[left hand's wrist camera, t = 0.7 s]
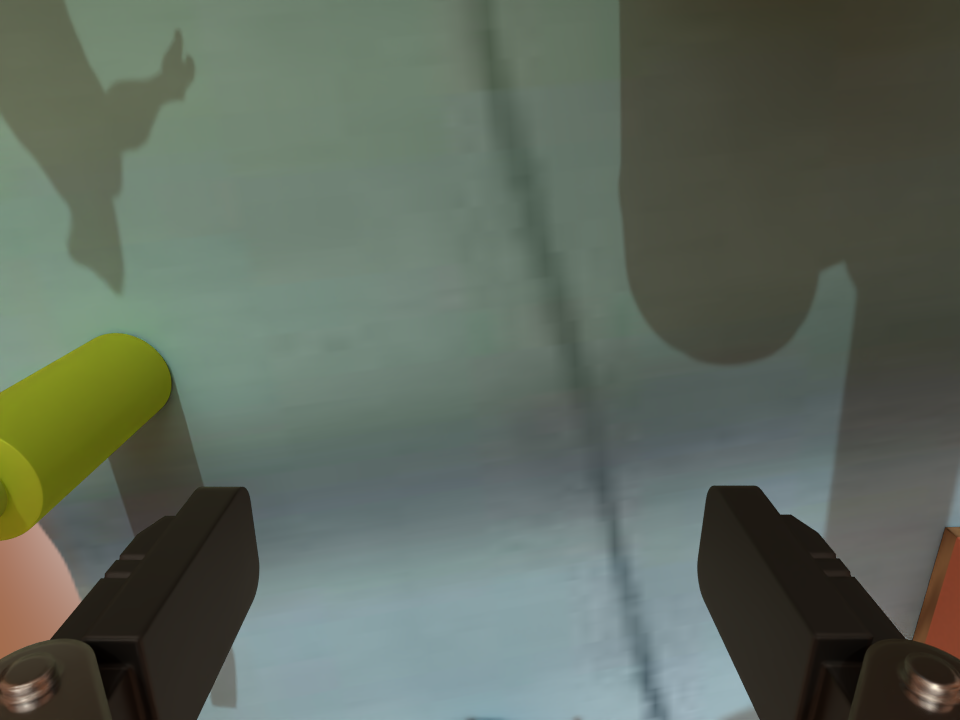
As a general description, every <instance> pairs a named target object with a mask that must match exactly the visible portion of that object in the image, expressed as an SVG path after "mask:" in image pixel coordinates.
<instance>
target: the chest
mask: <svg viewBox="0 0 960 720" xmlns="http://www.w3.org/2000/svg"><path fill="white" fill-rule="evenodd" d="M913 641H917V642H921V643H925V644H928V645H930V646H933V647H936V648H938V649H941V650H943V651H945V652H947V653H949V654H951V655H953V656H955V657H957V658H958V659H960V527H945V531H944V534H943V538H942V541H941V544H940V548H939V551H938V555H937V558H936V561H935V565H934V568H933V572H932V575H931V579H930V582H929V585H928V589H927V592H926V596H925V599H924V603H923V606H922V609H921V613H920V616H919V620H918V623H917V627H916V630H915V633H914V637H913Z"/></svg>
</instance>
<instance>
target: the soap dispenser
mask: <svg viewBox="0 0 960 720" xmlns="http://www.w3.org/2000/svg"><path fill="white" fill-rule="evenodd" d="M170 392H171V376H170V372H169V369H168V367H167V364H166V363H165V361H164V359H163V358H162V357H161V355H160V354H159V353H158V352H157V351H156V350H155V349H154V348H153V347H152V346H150V345H149V344H148V343H146V342H145V341H143V340H141V339H139V338H136V337H134V336H131V335H127V334H120V333H111V334H105V335H101V336H99V337H96V338H94V339H93V340H91V341H89V342H87V343H86V344H84V345H82V346H80V347H79V348H77V349H75V350H73V351H72V352H70V353H68V354H67V355H65V356H63V357H61V358H60V359H58V360H56V361H54V362H53V363H51V364H49V365H47V366H46V367H44V368H42V369H41V370H39V371H37V372H35V373H34V374H32V375H30V376H28V377H27V378H25V379H23V380H21V381H20V382H18V383H16V384H14V385H13V386H11V387H9V388H8V389H6V390H4V391H2V392H1V393H0V541H2V540H8V539H12V538H15V537H17V536H20V535H22V534H23V533H25V532H27V531H28V530H29V529H30V528H32V527H33V526H34V525H35V524H36V523H37V522H38V521H39V520H40V519H41V518H43V517H44V516H45V515H46V514H47V513H48V512H49V511H50V510H51V509H52V508H53V507H55V506H56V505H57V504H58V503H59V502H60V501H61V500H62V499H63V498H64V497H65V496H67V495H68V494H69V493H70V492H71V491H72V490H73V489H74V488H75V487H76V486H77V485H79V484H80V483H81V482H82V481H83V480H84V479H85V478H86V477H87V476H88V475H89V474H91V473H92V472H93V471H94V470H95V469H96V468H97V467H98V466H99V465H100V464H101V463H103V462H104V461H105V460H106V459H107V458H108V457H109V456H110V455H111V454H112V453H113V452H114V451H116V450H117V449H118V448H119V447H120V446H121V445H122V444H123V443H124V442H125V441H126V440H128V439H129V438H130V437H131V436H132V435H133V434H134V433H135V432H136V431H137V430H138V429H140V428H141V427H142V426H143V425H144V424H145V423H146V422H147V421H148V420H149V419H150V418H152V417H153V416H154V415H155V414H156V413H157V412H158V411H159V410H160V409H161V408H162V407H163V406H164V405H165V404H166V402H167V400H168V398H169V396H170Z"/></svg>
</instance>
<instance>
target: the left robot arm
mask: <svg viewBox="0 0 960 720" xmlns="http://www.w3.org/2000/svg"><path fill="white" fill-rule="evenodd" d="M697 571H698V581H699V587H700V591H701V594H702V597H703V599H704V602H705V604H706V606H707V608H708V610H709V612H710V614H711V617H712V619H713V621H714V623H715V625H716V627H717V629H718V632H719V634H720V636H721V638H722V640H723V642H724V644H725V647H726V649H727V651H728V653H729V655H730V657H731V659H732V661H733V664H734V666H735V668H736V670H737V672H738V674H739V676H740V679H741V681H742V683H743V685H744V687H745V689H746V691H747V693H748V696H749V698H750V700H751V702H752V704H753V706H754V708H755V711H756V713H757V715H758V717H759V719H760V720H960V659H958V658H957V657H955V656H953V655H951V654H949V653H947V652H945V651H943V650H941V649H938V648H936V647H933V646H930V645H928V644H925V643H921V642H917V641H913V640H906V639H905V638H904V636H903V635H902V634H901V633H900V632H899V630H898V629H897V628H896V627H895V626H894V624H893V623H892V622H891V621H890V619H889V618H888V617H887V616H886V615H885V613H884V612H883V611H882V610H881V609H880V607H879V606H878V605H877V604H876V603H875V601H874V600H873V599H872V598H871V596H870V595H869V594H868V593H867V592H866V590H865V589H864V588H863V587H862V586H861V584H860V583H859V582H858V581H857V579H856V578H855V577H851V575H850V571H849V570H848V569H847V567H846V566H845V565H844V564H843V562H842V561H841V560H840V559H836V554H835V553H834V552H833V550H832V549H831V548H830V547H829V545H828V544H827V543H826V542H825V541H824V539H823V538H822V537H821V536H820V535H819V533H818V532H816V531H815V530H813V529H812V528H810V527H809V526H807V525H806V524H804V523H803V522H801V521H800V520H798V519H797V518H795V517H794V516H792V515H780V514H779V512H778V511H777V510H776V508H775V507H774V506H773V505H772V503H771V502H770V501H769V499H768V498H767V497H766V495H765V494H764V493H763V491H762V490H761V489H760V488H759V487H757V486H712V487H710V489H709V491H708V493H707V497H706V503H705V511H704V518H703V525H702V532H701V540H700V547H699V554H698V563H697ZM258 580H259V558H258V550H257V543H256V536H255V529H254V522H253V515H252V508H251V501H250V496H249V493H248V491H247V489H246V488H245V487H199V488H198V489H196V490H195V492H194V493H193V494H192V495H191V497H190V498H189V499H188V501H187V502H186V503H185V504H184V506H183V507H182V508H181V510H180V511H179V512H178V513H177V515H176V516H164V517H163V518H161V519H160V520H158V521H157V522H155V523H154V524H152V525H151V526H149V527H148V528H146V529H145V530H143V531H142V532H140V533H139V534H137V536H136V537H135V538H134V539H133V540H132V542H131V543H130V544H129V545H128V546H127V548H126V549H125V550H124V551H123V552H122V554H121V555H120V559H119V560H116V561H115V562H114V563H113V564H112V566H111V567H110V568H109V569H108V571H107V572H106V573H105V577H104V578H101V579H100V580H99V581H98V583H97V584H96V585H95V586H94V587H93V589H92V590H91V591H90V592H89V593H88V595H87V596H86V597H85V598H84V599H83V601H82V602H81V603H80V604H79V605H78V607H77V608H76V609H75V610H74V611H73V613H72V614H71V615H70V616H69V617H68V619H67V620H66V621H65V622H64V623H63V625H62V626H61V627H60V628H59V629H58V631H57V632H56V633H55V634H54V635H53V637H52V638H51V639H50V640H47V641H43V642H39V643H35V644H32V645H30V646H27V647H24V648H22V649H19V650H17V651H15V652H13V653H11V654H9V655H7V656H5V657H4V658H2V659H0V720H197V718H198V716H199V714H200V712H201V710H202V708H203V706H204V703H205V701H206V699H207V697H208V695H209V693H210V691H211V689H212V687H213V684H214V682H215V680H216V678H217V676H218V674H219V672H220V670H221V668H222V665H223V663H224V661H225V659H226V657H227V655H228V653H229V651H230V649H231V646H232V644H233V642H234V640H235V638H236V636H237V634H238V632H239V630H240V627H241V625H242V623H243V621H244V619H245V617H246V615H247V613H248V611H249V609H250V606H251V604H252V602H253V600H254V597H255V594H256V591H257V586H258Z"/></svg>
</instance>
